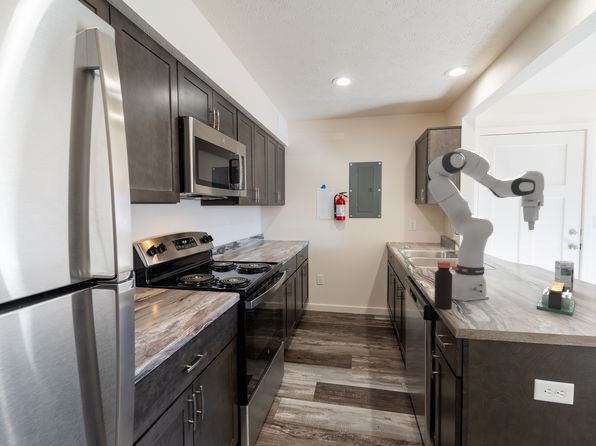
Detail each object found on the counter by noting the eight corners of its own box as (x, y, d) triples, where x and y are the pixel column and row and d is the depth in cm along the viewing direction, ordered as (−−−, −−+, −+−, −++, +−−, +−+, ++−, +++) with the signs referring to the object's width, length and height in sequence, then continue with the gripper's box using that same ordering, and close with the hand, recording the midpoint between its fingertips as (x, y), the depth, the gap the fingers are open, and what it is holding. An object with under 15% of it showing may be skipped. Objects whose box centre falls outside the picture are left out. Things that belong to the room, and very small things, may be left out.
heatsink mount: (572, 315, 115) (573, 298, 114) (536, 308, 123) (537, 292, 122) (575, 301, 131) (575, 286, 130) (543, 296, 138) (544, 281, 138)
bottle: (444, 310, 121) (445, 264, 120) (430, 305, 128) (431, 261, 126) (455, 308, 124) (456, 262, 123) (441, 303, 130) (442, 259, 129)
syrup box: (559, 289, 148) (560, 262, 147) (553, 286, 154) (555, 259, 153) (573, 290, 146) (574, 262, 145) (567, 287, 152) (568, 260, 151)
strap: (561, 294, 119) (562, 291, 119) (549, 292, 122) (549, 289, 122) (565, 284, 131) (565, 282, 131) (553, 283, 134) (553, 280, 134)
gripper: (527, 203, 156) (526, 228, 157) (521, 203, 142) (519, 231, 143) (542, 202, 152) (541, 228, 153) (537, 203, 138) (536, 231, 139)
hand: (531, 229), depth 148 cm, fingers closed
